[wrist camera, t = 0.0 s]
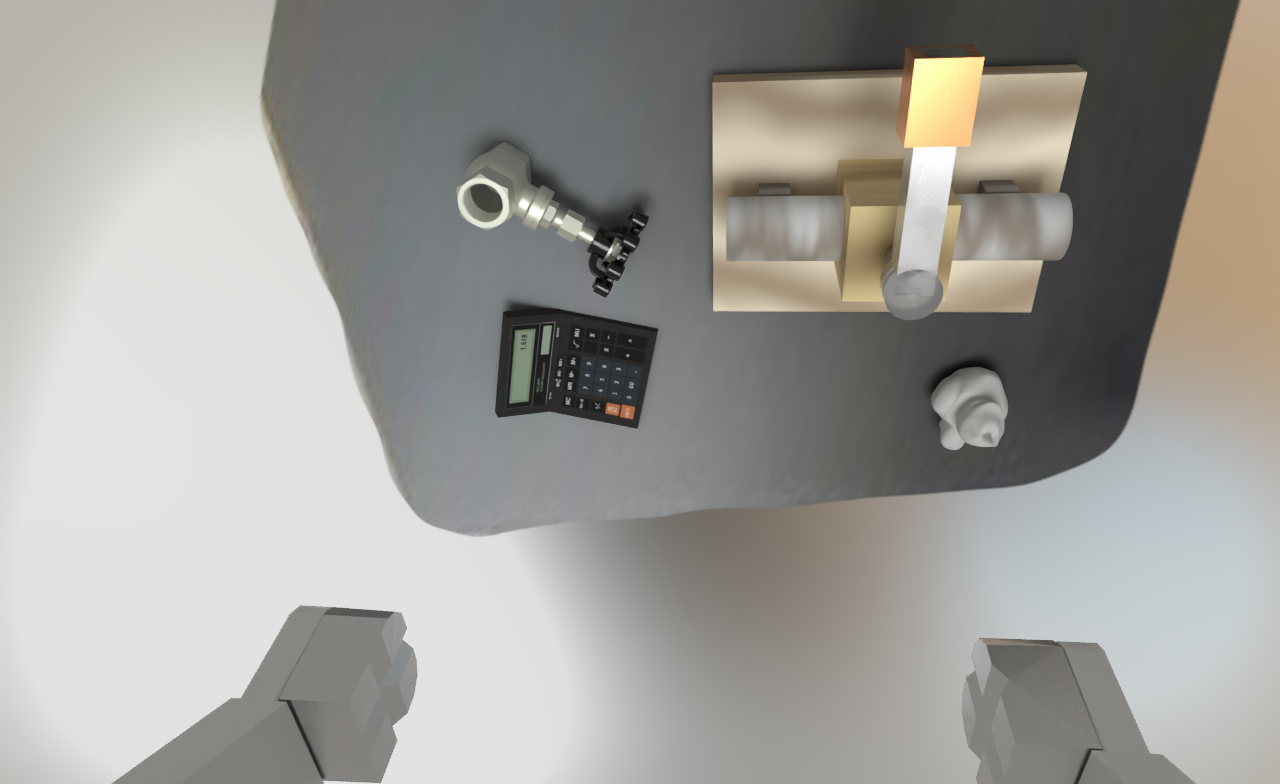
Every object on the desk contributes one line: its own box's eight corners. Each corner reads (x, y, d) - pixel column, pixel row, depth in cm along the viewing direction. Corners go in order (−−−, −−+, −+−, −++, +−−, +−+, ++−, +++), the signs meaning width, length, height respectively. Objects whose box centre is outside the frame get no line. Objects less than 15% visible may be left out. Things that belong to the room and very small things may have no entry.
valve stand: (713, 74, 53) (705, 135, 43) (1076, 64, 51) (1161, 125, 40) (714, 298, 62) (707, 393, 52) (1023, 298, 60) (1082, 399, 49)
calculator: (638, 422, 70) (634, 444, 67) (501, 395, 70) (492, 416, 67) (658, 326, 65) (654, 346, 62) (510, 297, 65) (500, 316, 62)
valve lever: (931, 300, 47) (940, 323, 45) (876, 300, 47) (882, 322, 45) (971, 44, 39) (984, 57, 37) (905, 46, 40) (915, 59, 38)
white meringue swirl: (1017, 368, 63) (1049, 432, 56) (969, 433, 67) (994, 499, 60) (952, 345, 63) (976, 406, 56) (907, 411, 66) (925, 476, 60)
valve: (463, 192, 60) (610, 272, 62) (434, 229, 54) (597, 315, 57) (498, 111, 56) (653, 199, 59) (472, 142, 51) (644, 237, 53)
